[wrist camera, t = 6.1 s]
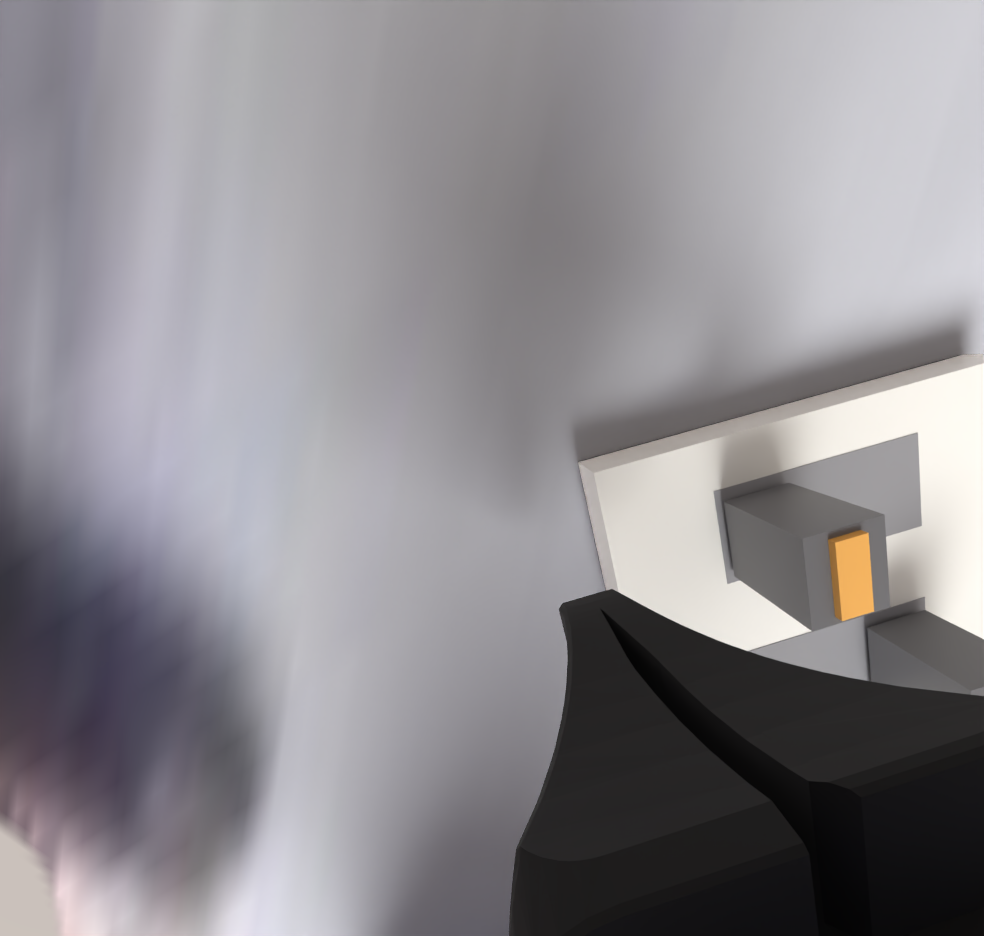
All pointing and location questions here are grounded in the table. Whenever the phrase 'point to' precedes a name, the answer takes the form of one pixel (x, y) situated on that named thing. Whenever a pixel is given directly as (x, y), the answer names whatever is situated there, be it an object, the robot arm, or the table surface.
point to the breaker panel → (834, 472)
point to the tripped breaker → (810, 553)
